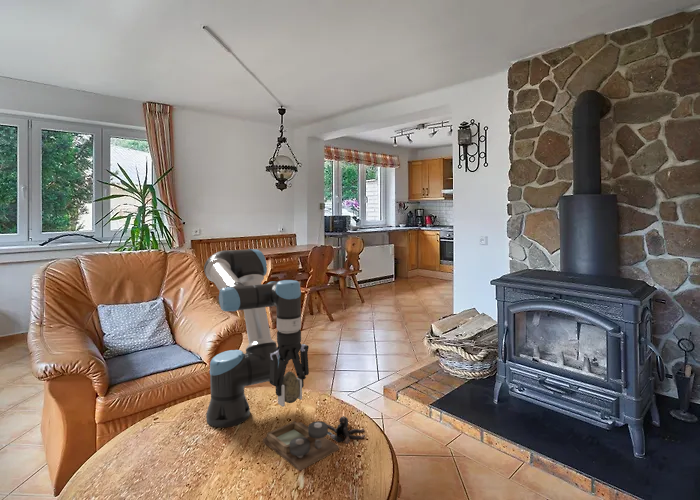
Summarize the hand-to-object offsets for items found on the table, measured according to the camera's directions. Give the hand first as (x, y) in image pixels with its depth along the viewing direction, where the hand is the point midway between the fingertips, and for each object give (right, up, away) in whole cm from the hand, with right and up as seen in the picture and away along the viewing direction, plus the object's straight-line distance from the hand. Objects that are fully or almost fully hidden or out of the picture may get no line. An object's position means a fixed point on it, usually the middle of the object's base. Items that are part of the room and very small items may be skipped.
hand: (290, 401), depth 125 cm
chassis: (+3, -14, 0) cm, 15 cm away
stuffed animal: (+17, -14, +7) cm, 23 cm away
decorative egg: (0, 0, 0) cm, 0 cm away
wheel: (+9, -9, -3) cm, 13 cm away
